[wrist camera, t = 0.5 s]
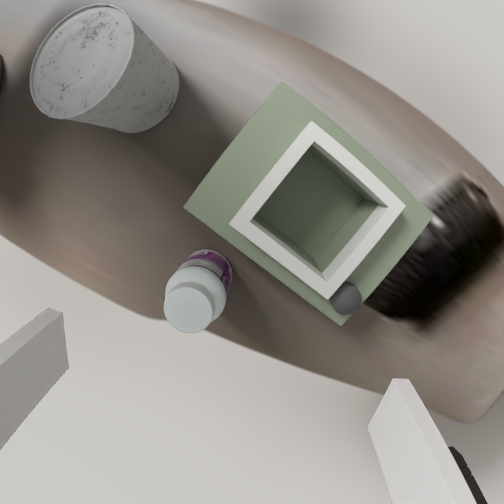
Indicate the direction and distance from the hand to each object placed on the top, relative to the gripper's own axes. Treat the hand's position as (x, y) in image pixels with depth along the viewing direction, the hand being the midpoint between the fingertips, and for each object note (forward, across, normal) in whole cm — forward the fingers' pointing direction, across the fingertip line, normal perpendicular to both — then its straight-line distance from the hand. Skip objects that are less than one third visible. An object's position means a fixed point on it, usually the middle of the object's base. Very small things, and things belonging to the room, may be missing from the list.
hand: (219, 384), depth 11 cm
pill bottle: (+22, -4, -4) cm, 23 cm away
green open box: (+22, +4, +6) cm, 23 cm away
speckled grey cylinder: (+22, -15, +14) cm, 30 cm away
